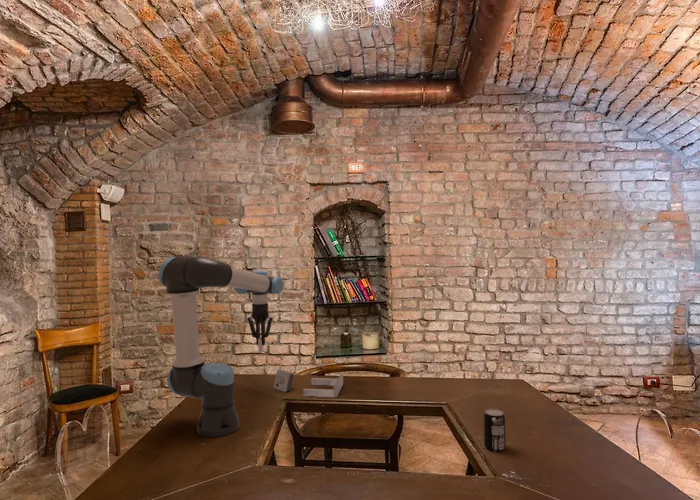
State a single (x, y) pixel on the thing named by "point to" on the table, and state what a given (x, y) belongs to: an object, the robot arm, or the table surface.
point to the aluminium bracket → (325, 392)
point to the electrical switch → (283, 380)
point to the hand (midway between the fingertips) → (260, 351)
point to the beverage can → (494, 430)
